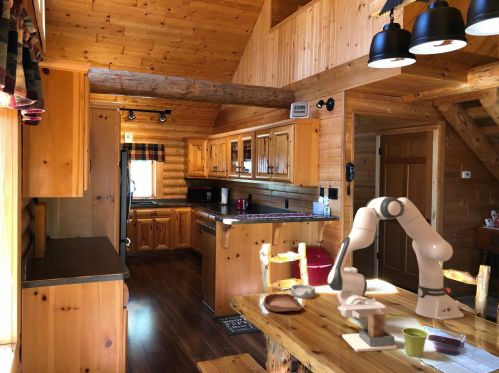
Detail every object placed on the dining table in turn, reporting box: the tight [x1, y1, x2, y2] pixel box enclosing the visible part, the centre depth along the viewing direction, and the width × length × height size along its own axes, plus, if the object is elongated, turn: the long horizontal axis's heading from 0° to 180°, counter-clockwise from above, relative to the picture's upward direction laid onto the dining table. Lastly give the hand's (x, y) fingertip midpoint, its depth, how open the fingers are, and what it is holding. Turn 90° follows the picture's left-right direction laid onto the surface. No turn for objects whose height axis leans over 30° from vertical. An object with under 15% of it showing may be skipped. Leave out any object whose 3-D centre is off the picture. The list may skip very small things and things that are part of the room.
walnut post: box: [367, 310, 386, 337], centre depth 169 cm, size 5×5×12 cm
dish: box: [290, 283, 316, 299], centre depth 236 cm, size 14×14×5 cm
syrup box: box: [343, 266, 358, 273], centre depth 243 cm, size 6×6×14 cm
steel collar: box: [358, 327, 395, 347], centre depth 169 cm, size 10×10×4 cm
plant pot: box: [401, 327, 429, 358], centre depth 158 cm, size 9×9×9 cm
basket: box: [263, 293, 304, 313], centre depth 213 cm, size 22×20×5 cm
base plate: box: [341, 333, 397, 353], centre depth 169 cm, size 17×15×1 cm
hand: (370, 316), depth 174 cm, fingers open, 8 cm apart
